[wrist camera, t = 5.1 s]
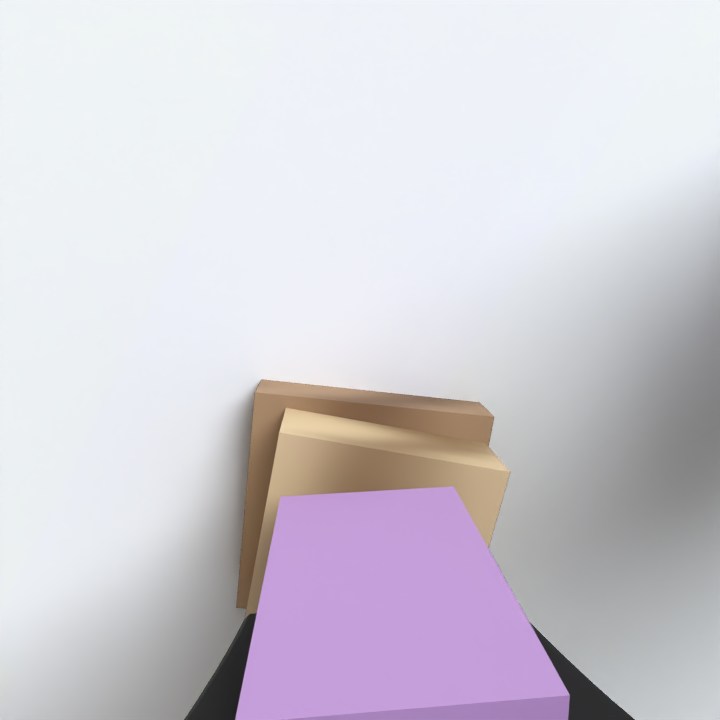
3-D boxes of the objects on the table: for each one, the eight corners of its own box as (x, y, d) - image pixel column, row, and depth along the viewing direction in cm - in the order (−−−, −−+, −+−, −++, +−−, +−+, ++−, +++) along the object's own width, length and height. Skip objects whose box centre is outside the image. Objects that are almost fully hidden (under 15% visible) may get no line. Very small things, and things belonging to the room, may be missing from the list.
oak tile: (485, 443, 14) (510, 472, 12) (438, 615, 16) (454, 667, 14) (286, 407, 14) (279, 432, 12) (251, 590, 15) (240, 641, 13)
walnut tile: (474, 397, 16) (494, 416, 14) (440, 580, 18) (454, 621, 16) (263, 375, 16) (254, 392, 14) (246, 567, 17) (236, 607, 15)
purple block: (453, 486, 11) (569, 695, 6) (452, 634, 12) (552, 938, 7) (280, 496, 11) (234, 723, 6) (291, 647, 12) (259, 971, 6)
